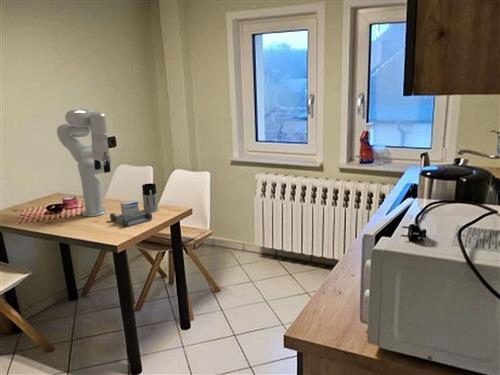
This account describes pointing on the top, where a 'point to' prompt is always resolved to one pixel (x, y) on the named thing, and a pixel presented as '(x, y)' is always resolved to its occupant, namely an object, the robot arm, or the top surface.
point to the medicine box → (129, 209)
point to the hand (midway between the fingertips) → (102, 170)
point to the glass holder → (150, 198)
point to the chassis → (132, 219)
